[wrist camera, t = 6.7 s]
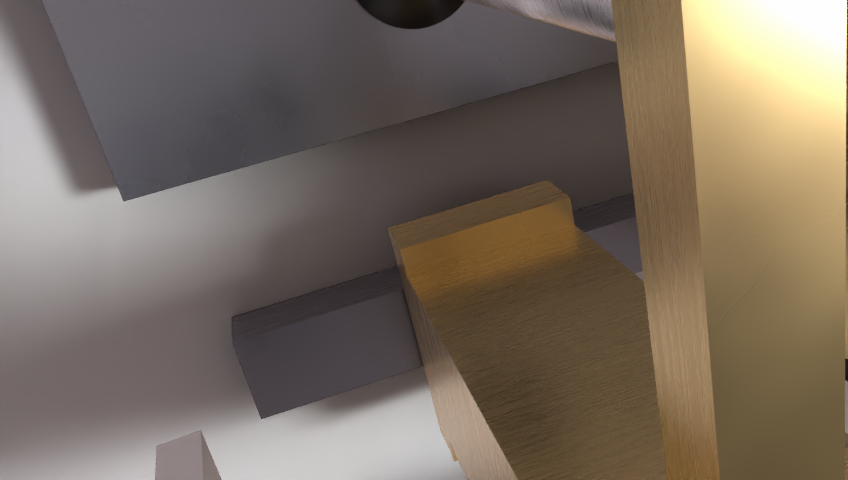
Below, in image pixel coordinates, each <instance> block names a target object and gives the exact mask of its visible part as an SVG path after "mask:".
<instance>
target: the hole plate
mask: <svg viewBox="0 0 848 480" xmlns="http://www.w3.org/2000/svg"><path fill="white" fill-rule="evenodd" d="M42 2H43V5H44V7H45V10H46V12H47V15H48V17H49V19H50V22H51V24H52V27H53V29H54V32H55V34H56V37H57V39H58V42H59V44H60V46H61V49H62V51H63V54H64V56H65V59H66V61H67V64H68V66H69V69H70V71H71V73H72V76H73V78H74V81H75V83H76V86H77V88H78V91H79V93H80V95H81V98H82V100H83V103H84V105H85V108H86V110H87V113H88V115H89V118H90V120H91V122H92V125H93V127H94V130H95V132H96V135H97V137H98V140H99V142H100V144H101V147H102V149H103V152H104V154H105V157H106V159H107V162H108V164H109V167H110V169H111V171H112V174H113V176H114V179H115V181H116V184H117V186H118V189H119V191H120V194H121V196H122V198H123V201H127V200H130V199H134V198H137V197H141V196H144V195H148V194H151V193H155V192H158V191H162V190H165V189H169V188H172V187H176V186H180V185H183V184H187V183H190V182H194V181H197V180H201V179H204V178H208V177H211V176H215V175H218V174H222V173H225V172H229V171H232V170H236V169H239V168H243V167H246V166H250V165H254V164H257V163H261V162H264V161H268V160H271V159H275V158H278V157H282V156H285V155H289V154H292V153H296V152H299V151H303V150H306V149H310V148H313V147H317V146H320V145H324V144H327V143H331V142H335V141H338V140H342V139H345V138H349V137H352V136H356V135H359V134H363V133H366V132H370V131H373V130H377V129H380V128H384V127H387V126H391V125H394V124H398V123H401V122H405V121H409V120H412V119H416V118H419V117H423V116H426V115H430V114H433V113H437V112H440V111H444V110H447V109H451V108H454V107H458V106H461V105H465V104H468V103H472V102H475V101H479V100H483V99H486V98H490V97H493V96H497V95H500V94H504V93H507V92H511V91H514V90H518V89H521V88H525V87H528V86H532V85H535V84H539V83H542V82H546V81H549V80H553V79H556V78H560V77H564V76H567V75H571V74H574V73H578V72H581V71H585V70H588V69H592V68H595V67H599V66H602V65H606V64H609V63H613V62H616V61H618V55H617V46H616V42H614V41H610V40H606V39H603V38H599V37H595V36H592V35H588V34H584V33H581V32H577V31H573V30H570V29H566V28H562V27H559V26H555V25H551V24H548V23H544V22H540V21H537V20H533V19H529V18H526V17H522V16H518V15H515V14H511V13H507V12H504V11H500V10H496V9H492V8H489V7H485V6H481V5H478V4H474V3H470V2H467V1H463V0H42Z"/></svg>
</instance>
